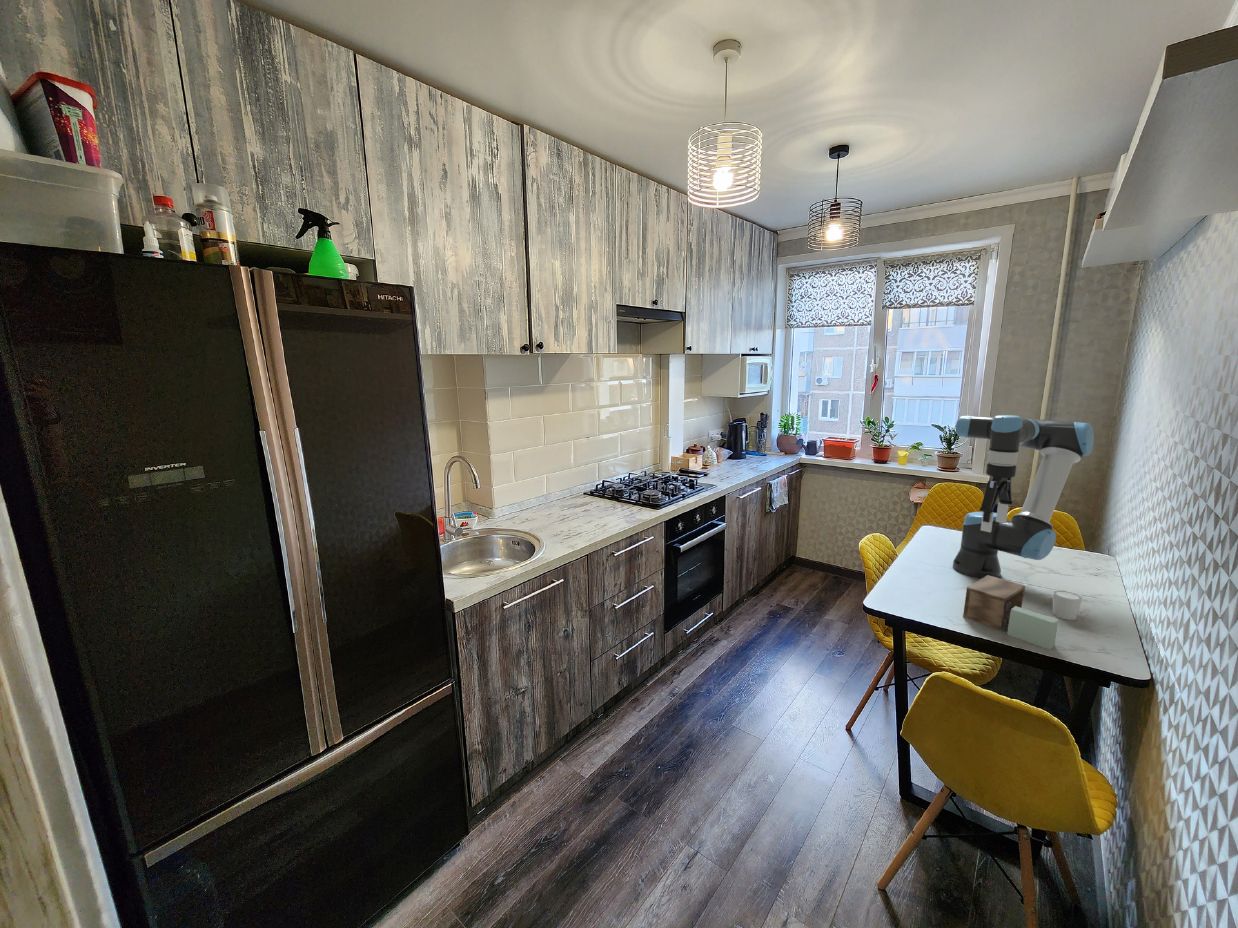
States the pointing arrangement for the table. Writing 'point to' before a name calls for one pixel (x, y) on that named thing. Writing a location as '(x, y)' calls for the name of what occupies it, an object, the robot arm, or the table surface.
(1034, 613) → the pale green rectangular block
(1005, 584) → the cabinet
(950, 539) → the table surface
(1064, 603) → the shot glass
